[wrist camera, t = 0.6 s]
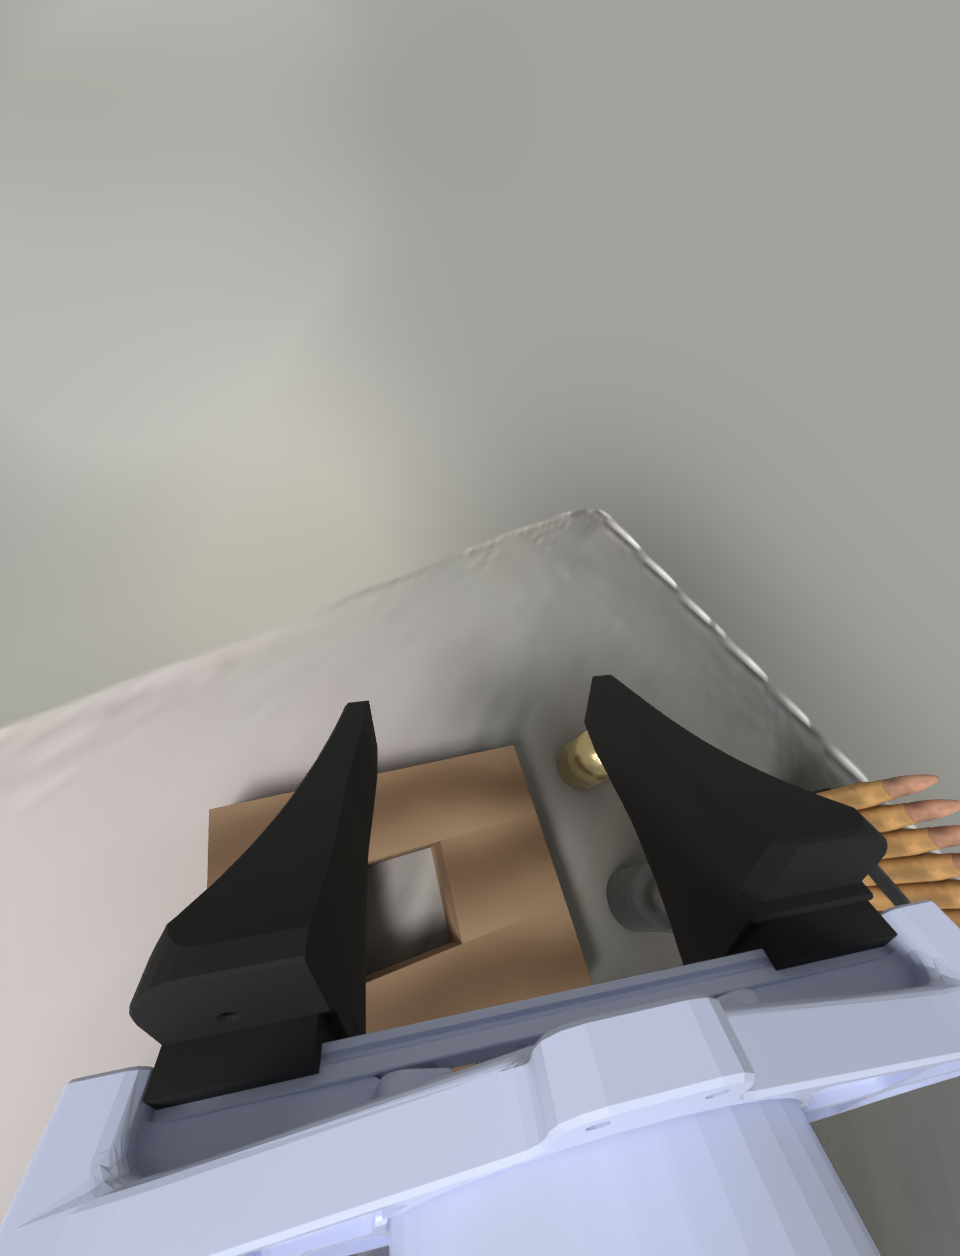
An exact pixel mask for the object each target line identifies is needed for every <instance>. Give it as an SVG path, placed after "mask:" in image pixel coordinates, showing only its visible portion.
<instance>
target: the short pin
mask: <svg viewBox="0 0 960 1256" xmlns="http://www.w3.org/2000/svg"><path fill="white" fill-rule="evenodd" d="M557 767H558V770H559V773H560V775H561V777H562V778H563V780H564V781H565V782H566V783H567V784H568V785H570V786H571V787H573V788H575V789H577V790H588V789H591V788H593V787H595V786H597V785H599V784H601V783H603V782H605V781H607V780H609V777H608V775H607V773H606V771H605V769H604V767H603V765H602V763H601V761H600V759H599V758H598V756H597V754H596V752H595V750H594V747H593V744H592V742H591V739H590V737H589V734H588V731H587V730H586V731H584V732H583V733H582V734H580V735H579V736H577V737H576V738H575V739H573V740H572V741H570V742H569V743H568V744H566V745H565V746H563V747H562V748H561V750H560V751H559V753H558V756H557Z"/></svg>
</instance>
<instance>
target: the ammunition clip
mask: <svg viewBox="0 0 960 1256" xmlns="http://www.w3.org/2000/svg"><path fill="white" fill-rule="evenodd" d="M938 780H939V777H938V776H935V775H906V776H899V777H894V778H890V779H885V780H878V781H873V782H861V783H855V784H851V785H847V786H843V787H840V788H836V789H832V790H831V789H830V788H828V789H823V790H818V791H814V792H812V793H814V794H817V795H820V796H823V797H826V798H828V799H831V800H834V801H837V802H840V803H842V804H845V805H848V806H851V807H854V808H855V809H856V810H857V811H858V812H859V813H860V814H861V815H862V816H863V817H864V818H865V819H866V820H867V821H869V822H870V823H871V824H872V825H873V826H874V827H875V828H876V829H877V830H878V831H879V832H880V833H881V834H882V835H883V836H884V837H885V838H886V840H887V843H888V848H887V851H886V854H885V856H884V857H883V858H882V860H881V861H880V862H879V863H878V864H877V865H876V866H875V867H874V869H873V870H872V871H871V872H870V873H869V874H868V875H867V876H866V877H865V878H864V879H863V880H862V882H863V883H864V884H865V885H866V886H867V888H868V889H869V890H870V891H871V892H872V893H873V897H874V898H873V899H872V900H869V902H870V903H871V904H872V905H873V906H874V908H875V909H876V910H877V911H878V912H879V913H881V912H882V911H884V910H886V909H889V908H892V907H895V906H900V905H905V904H909V903H914V902H919V901H924V900H930V901H933V902H934V903H935V904H936V905H937V906H938V907H939V908H940V909H941V910H942V911H943V912H944V913H945V914H946V915H947V916H948V917H949V918H950V919H951V920H952V921H953V922H954V923H955V924H956V925H957V926H958V927H959V928H960V880H955V879H949V878H952V877H957V876H960V853H947V854H935V853H925V852H928V851H931V850H937V849H942V848H946V847H953V846H958V845H960V825H952V826H939V827H932V828H930V827H928V828H919V829H900V828H902V827H905V826H907V825H912V824H916V823H919V822H924V821H929V820H934V819H937V818H941V817H944V816H947V815H949V814H952V813H954V812H956V811H958V810H959V809H960V801H957V800H942V799H940V800H923V801H917V802H910V803H902V804H895V805H879V804H881V803H883V802H885V801H889V800H892V799H896V798H898V797H902V796H907V795H910V794H913V793H916V792H919V791H921V790H924V789H926V788H928V787H930V786H931V785H933V784H934V783H936V782H937V781H938ZM876 805H878V806H876Z"/></svg>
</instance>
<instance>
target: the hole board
mask: <svg viewBox="0 0 960 1256" xmlns="http://www.w3.org/2000/svg"><path fill="white" fill-rule="evenodd" d="M294 792H295V791H294ZM294 792H290V793H285V794H280V795H275V796H271V797H266V798H261V799H257V800H252V801H247V802H242V803H238V804H233V805H228V806H224V807H219V808H214V809H210V810H209V841H208V880H207V889H208V888H209V887H210V886H211V885H212V884H213V883H214V882H215V881H216V880H217V879H218V878H219V877H220V876H221V875H222V874H223V873H224V872H225V871H226V870H227V869H228V868H229V867H230V866H231V865H232V864H233V863H234V862H235V861H236V860H237V859H238V858H239V857H240V856H241V855H242V854H243V853H244V852H245V851H246V850H247V849H248V848H249V847H250V845H251V844H252V843H253V842H254V841H255V840H256V839H257V838H258V837H259V836H260V834H261V833H262V832H263V831H264V830H265V829H266V827H267V826H268V825H269V824H270V823H271V821H272V820H273V819H274V818H275V817H276V816H277V814H278V813H279V812H280V811H281V809H282V808H283V807H284V805H285V804H286V803H287V802H288V800H289V799H290V798H291V796H292V795H293V794H294ZM429 847H431V850H432V855H433V859H434V864H435V869H436V874H437V879H438V883H439V888H440V893H441V898H442V903H443V908H444V912H445V917H446V922H447V927H448V932H449V937H450V941H451V942H450V943H447V944H445V945H442V946H440V947H437V948H435V949H432V950H430V951H427V952H425V953H422V954H420V955H417V956H415V957H412V958H410V959H407V960H405V961H402V962H400V963H397V964H395V965H392V966H390V967H387V968H385V969H382V970H380V971H377V972H375V973H372V974H370V975H367V976H366V1034H368V1033H373V1032H378V1031H382V1030H387V1029H392V1028H396V1027H401V1026H405V1025H410V1024H415V1023H419V1022H424V1021H429V1020H433V1019H438V1018H443V1017H447V1016H452V1015H456V1014H461V1013H466V1012H470V1011H475V1010H480V1009H484V1008H489V1007H494V1006H498V1005H503V1004H508V1003H512V1002H517V1001H521V1000H526V999H531V998H535V997H540V996H545V995H549V994H554V993H559V992H563V991H568V990H572V989H577V988H582V987H586V986H591V985H593V983H592V980H591V977H590V974H589V971H588V968H587V965H586V962H585V959H584V956H583V953H582V950H581V947H580V944H579V941H578V938H577V935H576V931H575V928H574V925H573V922H572V919H571V916H570V913H569V910H568V907H567V904H566V901H565V898H564V895H563V892H562V889H561V886H560V883H559V880H558V877H557V874H556V871H555V868H554V865H553V862H552V859H551V856H550V853H549V850H548V847H547V844H546V841H545V837H544V834H543V831H542V828H541V825H540V822H539V819H538V816H537V813H536V810H535V807H534V804H533V801H532V798H531V795H530V792H529V789H528V786H527V783H526V780H525V777H524V774H523V771H522V768H521V765H520V762H519V759H518V756H517V753H516V750H515V747H514V745H511V746H506V747H501V748H496V749H492V750H487V751H482V752H478V753H473V754H468V755H464V756H459V757H454V758H449V759H445V760H440V761H435V762H431V763H426V764H421V765H417V766H412V767H407V768H402V769H398V770H393V771H388V772H384V773H379V774H377V786H376V794H375V803H374V811H373V820H372V828H371V836H370V845H369V855H368V866H369V865H372V864H375V863H379V862H382V861H385V860H389V859H392V858H395V857H399V856H402V855H406V854H409V853H412V852H416V851H419V850H422V849H426V848H429ZM474 1064H476V1063H473V1064H469V1065H465V1066H461V1067H456V1068H452V1069H451V1070H452V1071H453V1072H456V1071H459V1070H462V1069H465V1068H468V1067H470V1066H472V1065H474Z"/></svg>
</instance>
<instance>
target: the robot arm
mask: <svg viewBox="0 0 960 1256" xmlns="http://www.w3.org/2000/svg"><path fill="white" fill-rule="evenodd" d="M584 722H585V725H586V728H587V731H588V734H589V737H590V739H591V742H592V744H593V747H594V750H595V752H596V754H597V756H598V758H599V759H600V761H601V763H602V765H603V767H604V769H605V771H606V773H607V775H608V777H609V779H610V780H611V782H612V784H613V786H614V788H615V790H616V792H617V794H618V795H619V797H620V799H621V801H622V803H623V805H624V807H625V809H626V811H627V813H628V815H629V817H630V819H631V821H632V823H633V826H634V828H635V831H636V833H637V835H638V838H639V840H640V843H641V845H642V848H643V850H644V853H645V855H646V858H647V860H648V863H649V866H650V868H651V871H652V874H653V876H654V879H655V881H656V884H657V887H658V890H659V893H660V895H661V898H662V901H663V904H664V907H665V910H666V913H667V915H668V918H669V921H670V924H671V927H672V931H673V934H674V937H675V940H676V943H677V946H678V949H679V952H680V955H681V959H682V962H683V965H684V966H679V967H675V968H670V969H665V970H661V971H656V972H651V973H647V974H642V975H637V976H633V977H628V978H623V979H619V980H614V981H610V982H605V983H600V984H596V985H591V986H586V987H582V988H577V989H572V990H568V991H563V992H559V993H554V994H549V995H545V996H540V997H535V998H531V999H526V1000H521V1001H517V1002H512V1003H508V1004H503V1005H498V1006H494V1007H489V1008H484V1009H480V1010H475V1011H470V1012H466V1013H461V1014H456V1015H452V1016H447V1017H443V1018H438V1019H433V1020H429V1021H424V1022H419V1023H415V1024H410V1025H405V1026H401V1027H396V1028H392V1029H387V1030H382V1031H378V1032H373V1033H368V1034H366V913H367V871H368V855H369V845H370V836H371V828H372V820H373V811H374V803H375V794H376V786H377V742H376V737H375V731H374V726H373V721H372V715H371V710H370V704H369V701H361V702H352V703H348V704H347V705H346V706H345V708H344V710H343V712H342V714H341V716H340V718H339V720H338V722H337V724H336V726H335V728H334V730H333V732H332V734H331V736H330V738H329V739H328V741H327V743H326V744H325V746H324V748H323V750H322V751H321V753H320V755H319V756H318V758H317V760H316V761H315V763H314V764H313V766H312V767H311V769H310V770H309V772H308V773H307V775H306V776H305V778H304V779H303V781H302V782H301V784H300V785H299V787H298V788H297V790H296V791H295V792H294V794H293V795H292V796H291V798H290V799H289V800H288V802H287V803H286V804H285V805H284V807H283V808H282V809H281V811H280V812H279V813H278V814H277V816H276V817H275V818H274V819H273V820H272V821H271V823H270V824H269V825H268V826H267V827H266V829H265V830H264V831H263V832H262V833H261V834H260V836H259V837H258V838H257V839H256V840H255V841H254V842H253V843H252V844H251V845H250V847H249V848H248V849H247V850H246V851H245V852H244V853H243V854H242V855H241V856H240V857H239V858H238V859H237V860H236V861H235V862H234V863H233V864H232V865H231V866H230V867H229V868H228V869H227V870H226V871H225V872H224V873H223V874H222V875H221V876H220V877H219V878H218V879H217V880H216V881H215V882H214V883H213V884H212V885H211V886H210V887H209V888H208V889H207V890H205V891H204V892H203V893H202V894H201V895H200V896H199V897H198V898H196V899H195V900H194V901H193V902H192V903H191V904H190V905H189V906H188V907H186V908H185V909H184V910H183V911H182V912H181V913H180V914H179V915H178V916H176V917H175V918H174V919H173V920H172V921H171V922H169V923H168V924H167V925H166V927H165V929H164V931H163V933H162V935H161V937H160V939H159V941H158V942H157V944H156V946H155V948H154V950H153V952H152V954H151V956H150V958H149V961H148V963H147V965H146V968H145V970H144V972H143V975H142V977H141V980H140V982H139V984H138V987H137V989H136V992H135V994H134V996H133V999H132V1001H131V1004H130V1009H129V1014H130V1016H131V1018H132V1019H133V1021H134V1022H135V1023H136V1025H137V1026H139V1027H140V1028H141V1029H142V1030H144V1031H145V1032H146V1033H147V1034H149V1035H150V1036H151V1037H153V1038H154V1039H155V1040H156V1041H158V1042H159V1043H160V1044H161V1045H162V1046H161V1049H160V1052H159V1055H158V1058H157V1061H156V1064H155V1067H154V1068H153V1067H149V1066H137V1067H129V1068H124V1069H120V1070H115V1071H110V1072H105V1073H101V1074H96V1075H91V1076H86V1077H82V1078H77V1079H73V1080H71V1081H70V1082H69V1083H68V1084H66V1085H65V1087H64V1089H63V1091H62V1093H61V1096H60V1098H59V1100H58V1102H57V1104H56V1106H55V1109H54V1111H53V1113H52V1115H51V1117H50V1119H49V1122H48V1124H47V1126H46V1128H45V1130H44V1133H43V1135H42V1137H41V1139H40V1141H39V1143H38V1146H37V1148H36V1150H35V1152H34V1154H33V1156H32V1159H31V1161H30V1163H29V1165H28V1167H27V1170H26V1172H25V1174H24V1176H23V1178H22V1180H21V1183H20V1185H19V1187H18V1189H17V1191H16V1193H15V1196H14V1198H13V1200H12V1202H11V1204H10V1207H9V1209H8V1211H7V1213H6V1215H5V1217H4V1220H3V1222H2V1224H1V1226H0V1256H881V1255H880V1253H879V1251H878V1249H877V1247H876V1246H875V1244H874V1242H873V1240H872V1238H871V1236H870V1235H869V1233H868V1231H867V1229H866V1227H865V1225H864V1223H863V1222H862V1220H861V1218H860V1216H859V1214H858V1212H857V1211H856V1209H855V1207H854V1205H853V1203H852V1201H851V1199H850V1198H849V1196H848V1194H847V1192H846V1190H845V1188H844V1187H843V1185H842V1183H841V1181H840V1179H839V1177H838V1175H837V1174H836V1172H835V1170H834V1168H833V1166H832V1164H831V1163H830V1161H829V1159H828V1157H827V1155H826V1153H825V1151H824V1150H823V1148H822V1146H821V1144H820V1142H819V1140H818V1139H817V1137H816V1135H815V1133H814V1131H813V1129H812V1127H811V1126H810V1124H809V1123H811V1122H814V1121H817V1120H820V1119H823V1118H826V1117H829V1116H833V1115H836V1114H839V1113H842V1112H845V1111H848V1110H851V1109H854V1108H857V1107H861V1106H864V1105H867V1104H870V1103H873V1102H876V1101H879V1100H882V1099H886V1098H889V1097H892V1096H895V1095H898V1094H902V1093H905V1092H908V1091H911V1090H914V1089H918V1088H921V1087H924V1086H927V1085H931V1084H934V1083H937V1082H941V1081H944V1080H947V1079H951V1078H954V1077H958V1076H960V928H959V927H958V926H957V925H956V924H955V923H954V922H953V921H952V920H951V919H950V918H949V917H948V916H947V915H946V914H945V913H944V912H943V911H942V910H941V909H940V908H939V907H938V906H937V905H936V904H935V903H934V902H933V901H930V900H924V901H919V902H914V903H909V904H905V905H900V906H895V907H892V908H889V909H886V910H884V911H882V912H881V913H879V912H878V911H877V910H876V909H875V908H874V906H873V905H872V904H871V903H870V902H869V900H872V899H873V898H874V897H873V893H872V892H871V891H870V890H869V889H868V888H867V886H866V885H865V884H864V883H863V882H862V880H863V879H864V878H865V877H866V876H867V875H868V874H869V873H870V872H871V871H872V870H873V869H874V867H875V866H876V865H877V864H878V863H879V862H880V861H881V860H882V858H883V857H884V856H885V854H886V851H887V848H888V843H887V840H886V838H885V837H884V836H883V835H882V834H881V833H880V832H879V831H878V830H877V829H876V828H875V827H874V826H873V825H872V824H871V823H870V822H869V821H867V820H866V819H865V818H864V817H863V816H862V815H861V814H860V813H859V812H858V811H857V810H856V809H855V808H854V807H851V806H848V805H845V804H842V803H840V802H837V801H834V800H831V799H828V798H826V797H823V796H820V795H817V794H814V793H812V792H809V791H806V790H804V789H801V788H799V787H797V786H794V785H792V784H789V783H787V782H784V781H782V780H780V779H777V778H775V777H773V776H771V775H768V774H766V773H764V772H762V771H760V770H758V769H756V768H754V767H752V766H749V765H747V764H745V763H743V762H741V761H739V760H737V759H735V758H734V757H732V756H730V755H728V754H726V753H724V752H722V751H721V750H719V749H717V748H715V747H714V746H712V745H710V744H708V743H707V742H705V741H703V740H702V739H700V738H698V737H697V736H695V735H693V734H692V733H690V732H689V731H687V730H686V729H684V728H683V727H681V726H680V725H678V724H677V723H675V722H674V721H672V720H671V719H669V718H668V717H667V716H665V715H664V714H662V713H661V712H660V711H658V710H657V709H655V708H654V707H653V706H651V705H650V704H649V703H647V702H646V701H645V700H643V699H642V698H641V697H639V696H638V695H637V694H635V693H634V692H633V691H632V690H630V689H629V688H628V687H626V686H625V685H624V684H622V683H621V682H620V681H618V680H617V679H616V678H614V677H613V676H611V675H603V676H594V677H593V678H592V684H591V689H590V694H589V700H588V705H587V711H586V716H585V721H584ZM486 1060H488V1061H486ZM482 1061H485V1062H482ZM478 1062H482V1063H479V1064H476V1065H473V1066H470V1067H468V1068H465V1069H462V1070H459V1071H456V1072H453V1071H452V1070H451V1069H452V1068H456V1067H461V1066H465V1065H469V1064H473V1063H478Z"/></svg>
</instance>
